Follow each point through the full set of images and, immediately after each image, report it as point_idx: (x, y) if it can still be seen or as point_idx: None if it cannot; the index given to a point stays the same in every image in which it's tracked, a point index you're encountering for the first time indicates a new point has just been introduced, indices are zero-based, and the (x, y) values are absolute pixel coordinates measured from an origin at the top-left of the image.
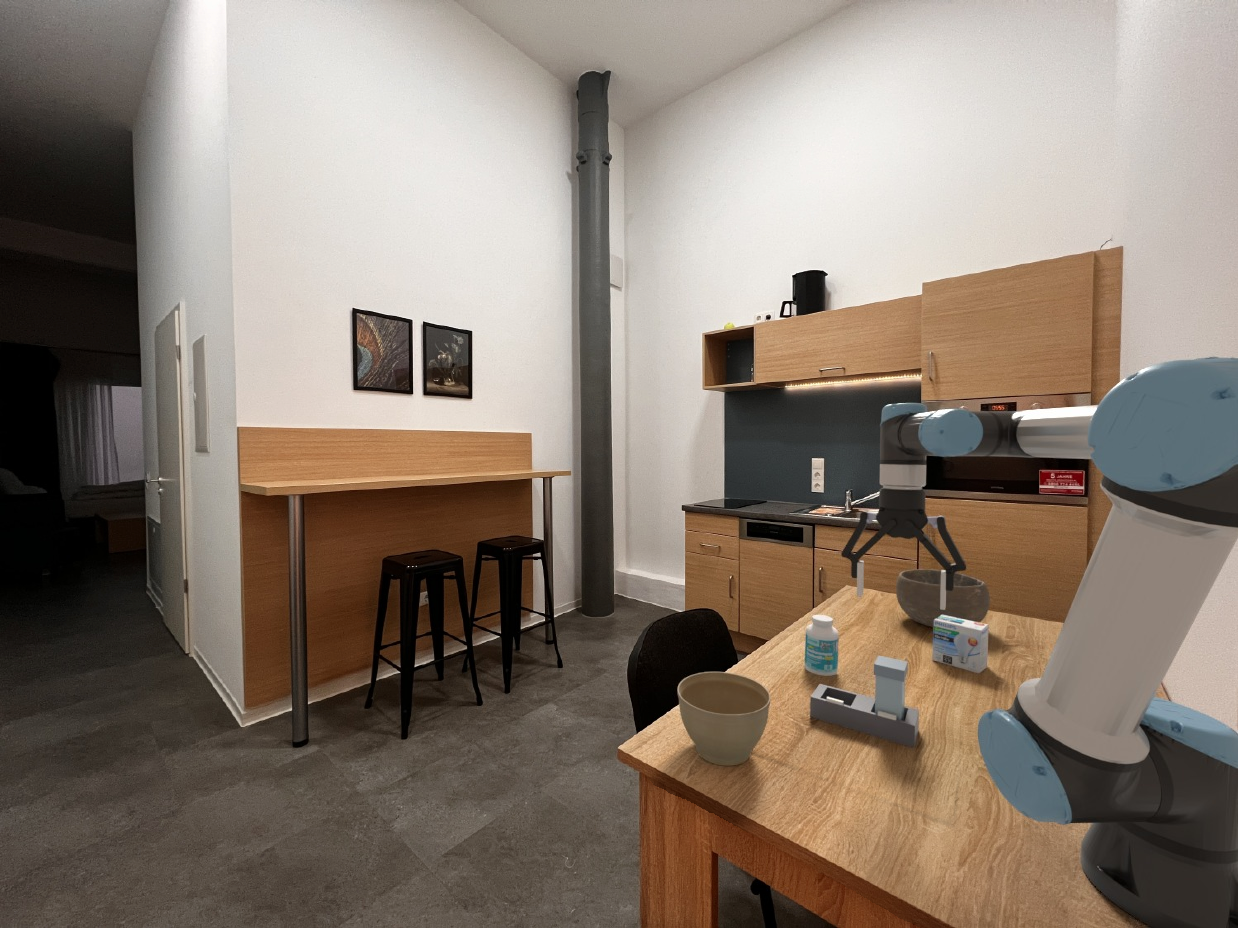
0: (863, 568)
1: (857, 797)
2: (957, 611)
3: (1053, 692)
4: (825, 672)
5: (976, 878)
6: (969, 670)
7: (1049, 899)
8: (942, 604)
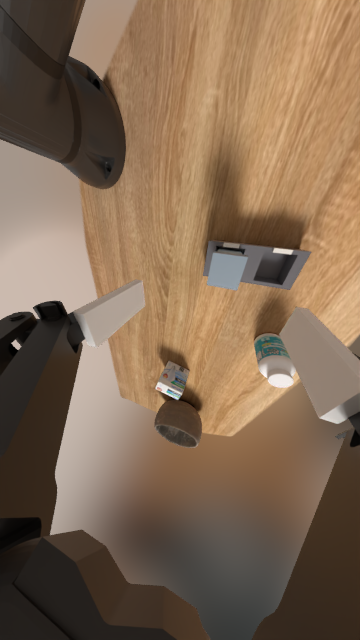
0: (310, 385)
1: (278, 96)
2: (171, 408)
3: None
4: (267, 335)
5: (183, 13)
6: (172, 362)
7: (138, 45)
8: (134, 283)
